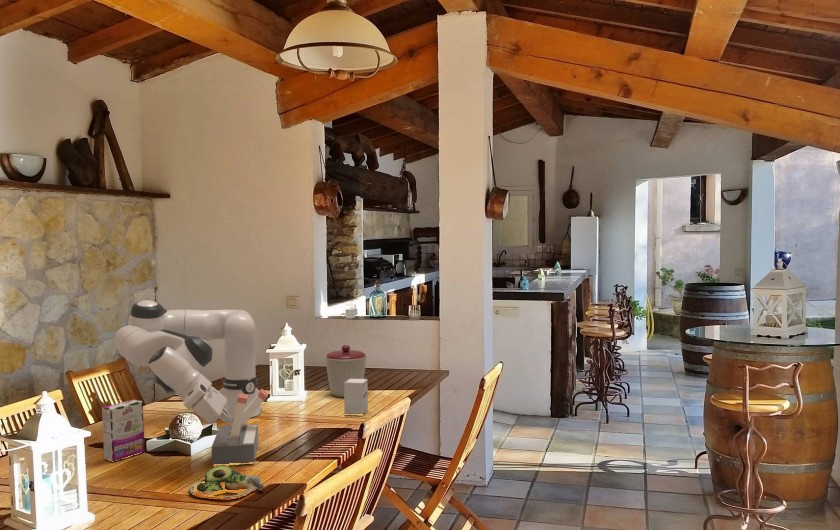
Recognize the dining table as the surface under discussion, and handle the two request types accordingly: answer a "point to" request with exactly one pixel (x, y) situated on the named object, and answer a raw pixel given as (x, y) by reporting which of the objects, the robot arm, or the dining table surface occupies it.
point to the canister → (344, 368)
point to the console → (235, 445)
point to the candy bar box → (123, 429)
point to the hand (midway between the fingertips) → (231, 422)
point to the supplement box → (355, 396)
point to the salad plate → (227, 481)
